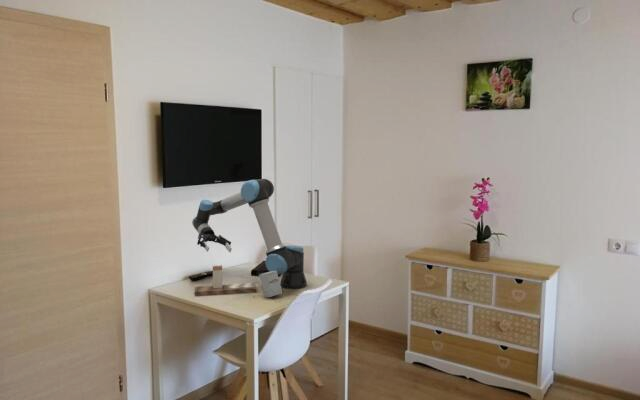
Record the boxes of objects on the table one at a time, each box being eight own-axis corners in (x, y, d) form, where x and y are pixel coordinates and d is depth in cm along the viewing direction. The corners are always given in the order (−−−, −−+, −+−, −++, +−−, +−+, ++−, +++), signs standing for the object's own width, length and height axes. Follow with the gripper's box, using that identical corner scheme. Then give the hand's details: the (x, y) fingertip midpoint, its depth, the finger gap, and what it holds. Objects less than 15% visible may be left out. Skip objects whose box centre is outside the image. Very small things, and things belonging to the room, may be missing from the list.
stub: (222, 286, 281) (222, 265, 280) (222, 287, 279) (222, 266, 277) (213, 287, 280) (212, 265, 279) (213, 288, 278) (212, 266, 276)
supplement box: (271, 296, 266) (265, 273, 267) (264, 297, 272) (258, 274, 273) (282, 293, 271) (277, 269, 272) (275, 294, 277) (269, 271, 278)
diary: (250, 277, 314) (250, 269, 314) (262, 267, 339) (262, 259, 338) (280, 278, 311) (279, 270, 310) (289, 268, 335) (289, 260, 335)
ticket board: (255, 287, 289) (255, 282, 289) (256, 292, 279) (256, 287, 279) (195, 291, 282) (195, 285, 282) (195, 296, 272) (194, 290, 272)
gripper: (223, 239, 307) (237, 256, 291) (184, 237, 292) (196, 255, 276) (227, 228, 305) (241, 244, 288) (187, 225, 290) (200, 242, 274)
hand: (219, 249), depth 282 cm, fingers open, 13 cm apart
